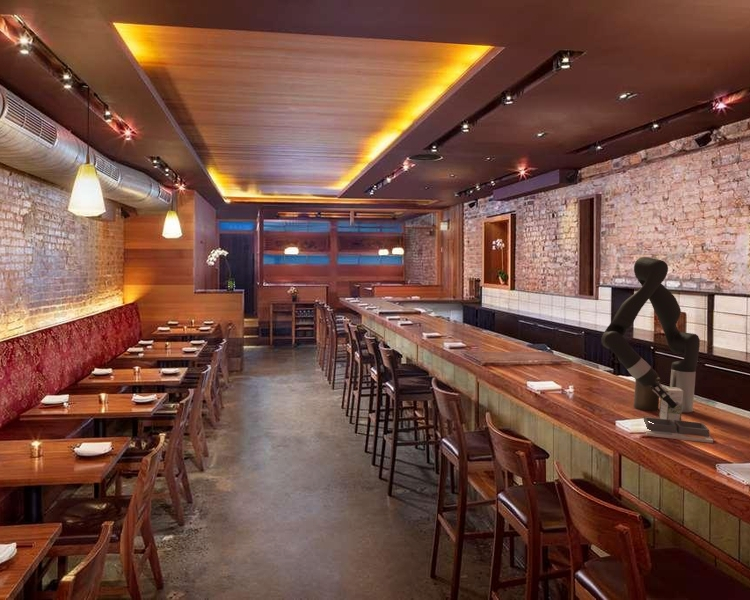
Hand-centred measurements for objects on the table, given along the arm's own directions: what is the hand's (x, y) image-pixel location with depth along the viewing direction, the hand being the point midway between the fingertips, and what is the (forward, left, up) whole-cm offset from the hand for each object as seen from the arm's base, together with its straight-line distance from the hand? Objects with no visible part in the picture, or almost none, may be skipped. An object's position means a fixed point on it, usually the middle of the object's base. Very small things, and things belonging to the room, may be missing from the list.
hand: (672, 404), depth 225 cm
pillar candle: (-25, -6, -8) cm, 27 cm away
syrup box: (0, -1, -8) cm, 9 cm away
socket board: (+12, -1, -8) cm, 15 cm away
